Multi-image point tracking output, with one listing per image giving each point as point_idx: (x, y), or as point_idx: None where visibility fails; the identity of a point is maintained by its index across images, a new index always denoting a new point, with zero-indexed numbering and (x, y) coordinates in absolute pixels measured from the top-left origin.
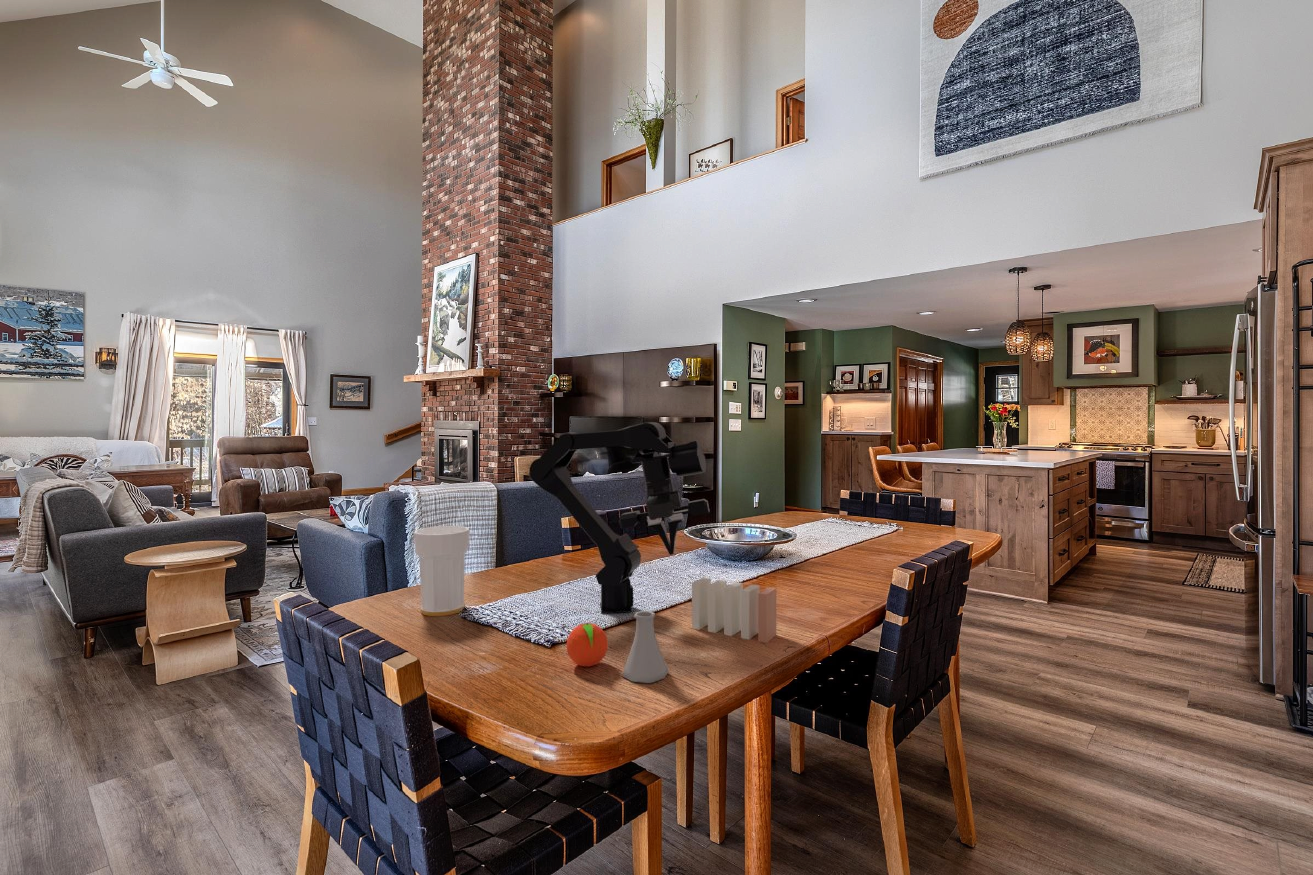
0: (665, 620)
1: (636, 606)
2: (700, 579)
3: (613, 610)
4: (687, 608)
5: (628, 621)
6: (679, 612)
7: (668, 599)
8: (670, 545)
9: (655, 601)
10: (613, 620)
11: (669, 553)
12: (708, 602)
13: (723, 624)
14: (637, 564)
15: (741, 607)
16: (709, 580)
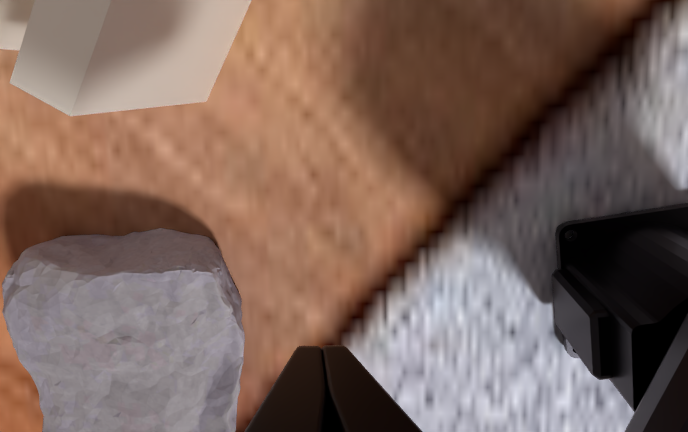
0: (388, 108)
1: (527, 315)
2: (87, 46)
3: (657, 216)
4: (289, 286)
5: (576, 85)
6: (323, 230)
7: None
8: (318, 408)
9: (436, 383)
10: (656, 98)
11: (345, 350)
12: None
13: None
14: (638, 428)
15: None
16: (24, 60)
